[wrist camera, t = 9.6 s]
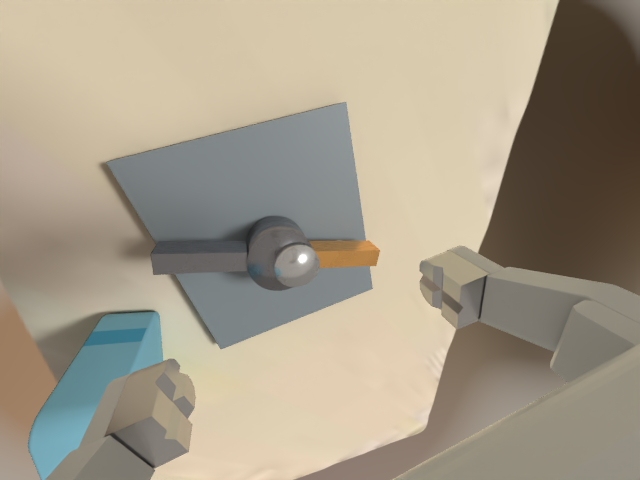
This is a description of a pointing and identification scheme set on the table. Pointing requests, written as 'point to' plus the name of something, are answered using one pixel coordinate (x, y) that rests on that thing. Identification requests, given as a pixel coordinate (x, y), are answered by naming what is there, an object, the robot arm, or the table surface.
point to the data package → (92, 383)
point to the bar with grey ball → (264, 255)
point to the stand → (254, 210)
